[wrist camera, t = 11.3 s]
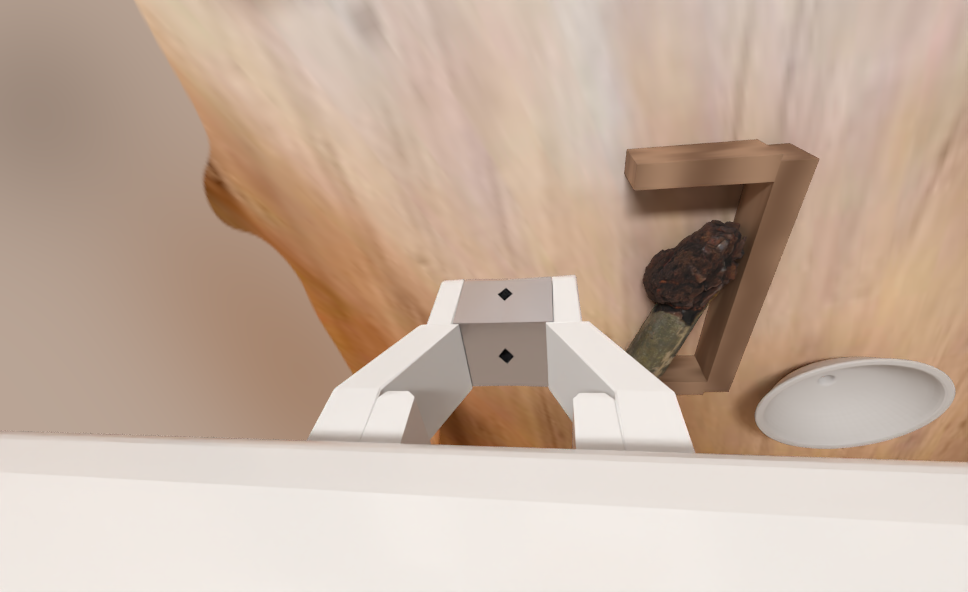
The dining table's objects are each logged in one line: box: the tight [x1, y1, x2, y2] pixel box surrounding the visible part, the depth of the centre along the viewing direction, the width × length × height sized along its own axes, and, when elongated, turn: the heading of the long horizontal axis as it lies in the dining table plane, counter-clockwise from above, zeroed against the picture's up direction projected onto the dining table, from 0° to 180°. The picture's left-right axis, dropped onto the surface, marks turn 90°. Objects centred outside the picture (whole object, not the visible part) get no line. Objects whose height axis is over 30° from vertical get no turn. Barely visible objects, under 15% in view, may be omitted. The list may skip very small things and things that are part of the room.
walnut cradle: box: [624, 139, 819, 395], centre depth 38 cm, size 12×26×4 cm, turn 6°
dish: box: [755, 357, 955, 449], centre depth 43 cm, size 18×14×5 cm
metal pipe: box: [626, 220, 746, 378], centre depth 38 cm, size 18×7×6 cm, turn 171°
